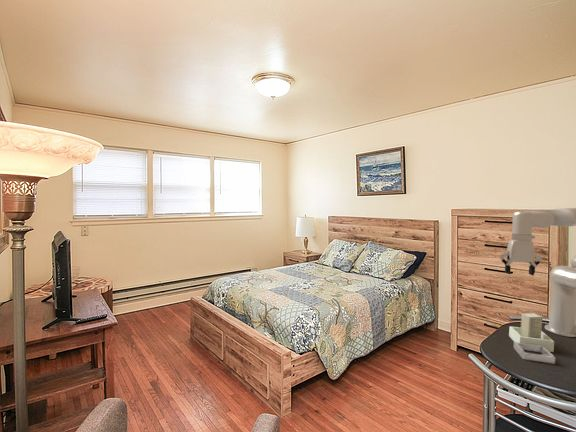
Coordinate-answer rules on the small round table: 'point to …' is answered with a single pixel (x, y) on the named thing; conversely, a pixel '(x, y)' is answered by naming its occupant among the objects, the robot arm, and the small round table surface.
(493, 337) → the small round table surface
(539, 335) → the skincare box
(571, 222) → the robot arm
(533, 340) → the sage bin
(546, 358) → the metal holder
